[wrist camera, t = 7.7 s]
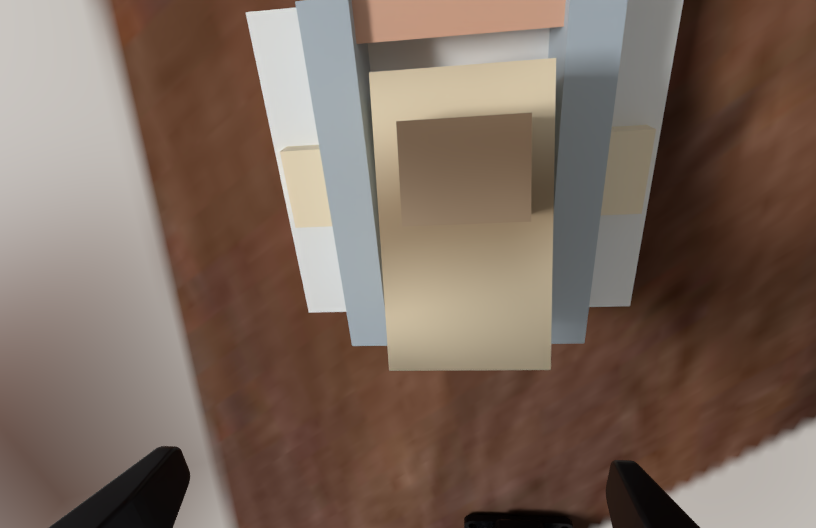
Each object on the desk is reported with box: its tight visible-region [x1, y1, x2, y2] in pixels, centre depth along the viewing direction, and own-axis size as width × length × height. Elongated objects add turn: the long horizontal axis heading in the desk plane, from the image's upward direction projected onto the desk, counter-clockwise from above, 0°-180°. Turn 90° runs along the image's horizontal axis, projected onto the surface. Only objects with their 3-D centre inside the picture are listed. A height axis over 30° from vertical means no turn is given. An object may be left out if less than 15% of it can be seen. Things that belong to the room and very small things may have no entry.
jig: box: [246, 0, 684, 346], centre depth 17 cm, size 12×14×4 cm
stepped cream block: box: [369, 58, 556, 371], centre depth 14 cm, size 8×4×6 cm, turn 5°
